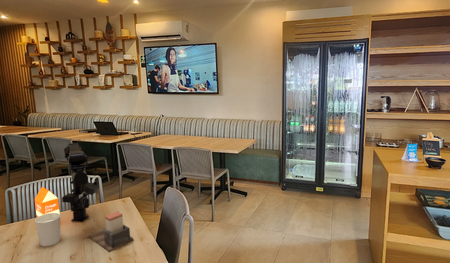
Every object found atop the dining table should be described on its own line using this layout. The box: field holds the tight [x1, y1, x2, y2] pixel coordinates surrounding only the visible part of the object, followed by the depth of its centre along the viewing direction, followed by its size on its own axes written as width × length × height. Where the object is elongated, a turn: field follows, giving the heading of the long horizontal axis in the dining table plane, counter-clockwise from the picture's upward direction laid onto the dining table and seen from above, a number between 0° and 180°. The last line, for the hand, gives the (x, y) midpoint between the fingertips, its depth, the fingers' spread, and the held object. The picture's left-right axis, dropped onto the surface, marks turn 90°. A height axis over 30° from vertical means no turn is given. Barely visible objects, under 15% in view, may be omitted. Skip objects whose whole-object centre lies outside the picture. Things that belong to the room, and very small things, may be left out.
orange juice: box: [34, 186, 62, 226], centre depth 144 cm, size 8×9×20 cm
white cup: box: [34, 213, 62, 247], centre depth 130 cm, size 10×10×12 cm
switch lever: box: [104, 211, 124, 234], centre depth 129 cm, size 4×6×12 cm
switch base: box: [88, 224, 134, 253], centre depth 132 cm, size 19×12×7 cm, turn 51°
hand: (81, 208), depth 137 cm, fingers closed
